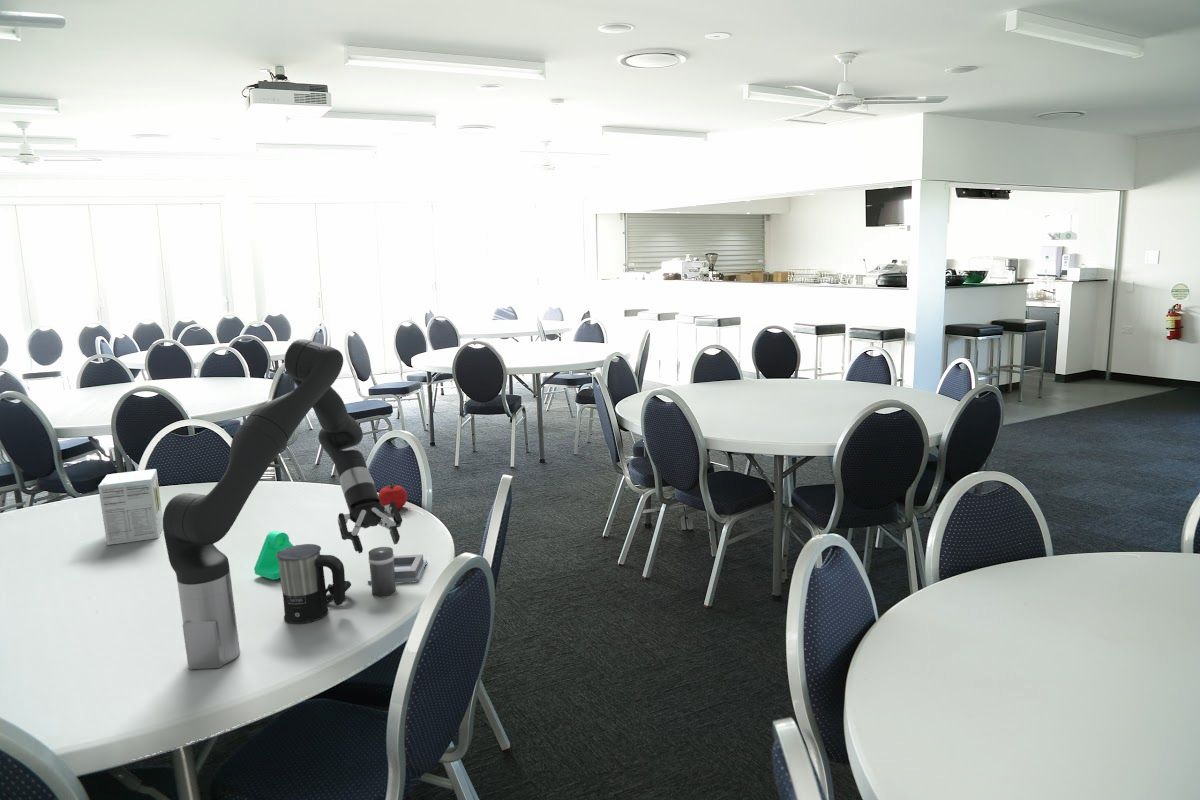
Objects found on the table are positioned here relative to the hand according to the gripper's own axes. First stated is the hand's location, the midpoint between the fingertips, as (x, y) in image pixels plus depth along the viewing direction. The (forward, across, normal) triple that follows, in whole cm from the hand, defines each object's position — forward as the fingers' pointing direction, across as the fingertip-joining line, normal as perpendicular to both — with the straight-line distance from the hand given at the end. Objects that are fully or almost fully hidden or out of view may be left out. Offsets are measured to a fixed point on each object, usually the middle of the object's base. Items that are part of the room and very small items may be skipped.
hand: (378, 547), depth 191 cm
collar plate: (+4, -5, -10) cm, 11 cm away
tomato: (-32, -21, -46) cm, 60 cm away
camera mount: (-10, +17, -22) cm, 30 cm away
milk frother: (+9, +16, -4) cm, 19 cm away
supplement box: (-51, +47, -62) cm, 93 cm away
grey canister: (+10, +1, -3) cm, 10 cm away
